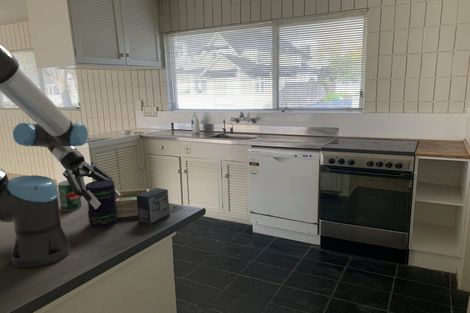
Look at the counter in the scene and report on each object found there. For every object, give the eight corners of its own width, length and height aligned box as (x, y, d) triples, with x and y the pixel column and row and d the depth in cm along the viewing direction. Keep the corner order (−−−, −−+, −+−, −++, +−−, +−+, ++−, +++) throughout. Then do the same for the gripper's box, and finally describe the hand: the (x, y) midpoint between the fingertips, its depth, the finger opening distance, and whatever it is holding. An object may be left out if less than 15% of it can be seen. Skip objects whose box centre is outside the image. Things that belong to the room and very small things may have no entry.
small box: (157, 212, 136) (156, 187, 134) (170, 215, 132) (168, 189, 130) (137, 221, 127) (135, 194, 125) (150, 225, 124) (148, 196, 122)
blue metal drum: (110, 216, 133) (107, 178, 130) (123, 222, 126) (119, 183, 123) (84, 223, 126) (80, 184, 123) (96, 231, 119) (91, 189, 116)
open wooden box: (149, 214, 134) (148, 198, 133) (111, 218, 131) (110, 201, 130) (150, 203, 147) (149, 188, 146) (116, 206, 145) (114, 191, 143)
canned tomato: (66, 205, 148) (63, 180, 146) (84, 204, 148) (82, 179, 146) (57, 211, 140) (54, 185, 138) (77, 210, 140) (74, 184, 138)
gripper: (86, 157, 137) (123, 198, 135) (37, 170, 117) (79, 219, 114) (96, 144, 135) (133, 186, 132) (47, 155, 114) (91, 205, 112)
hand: (108, 201), depth 123 cm, fingers closed on blue metal drum, 10 cm apart
